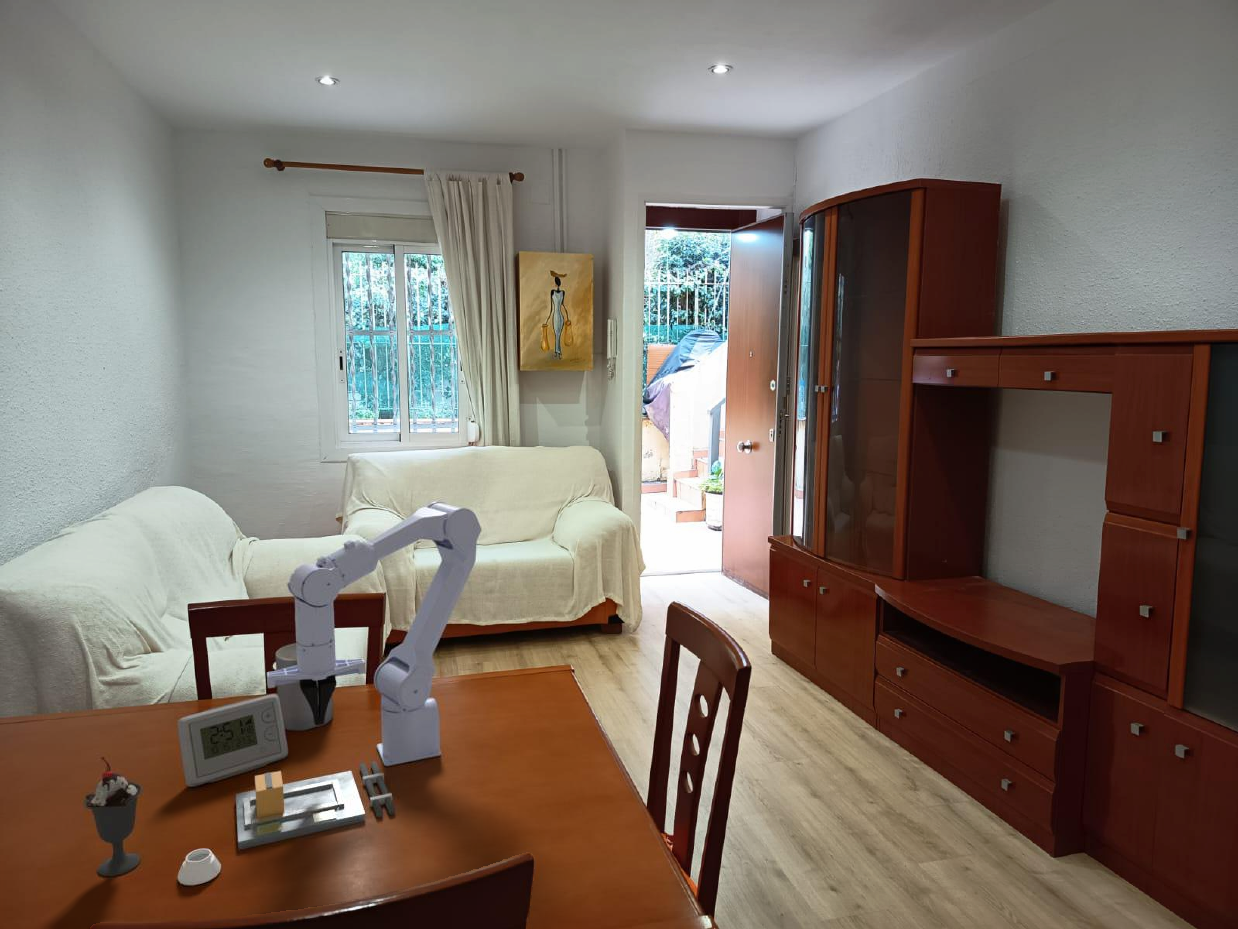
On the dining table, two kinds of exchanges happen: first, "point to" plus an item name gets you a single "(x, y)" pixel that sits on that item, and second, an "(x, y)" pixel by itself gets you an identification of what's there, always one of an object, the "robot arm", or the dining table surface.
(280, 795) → the cardboard box
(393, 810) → the cable bundle
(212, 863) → the white hollow cone ring
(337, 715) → the dining table surface
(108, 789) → the sundae
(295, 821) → the grey metal tray
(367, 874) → the dining table surface
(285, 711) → the pillar candle
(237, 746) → the digital clock
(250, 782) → the dining table surface
